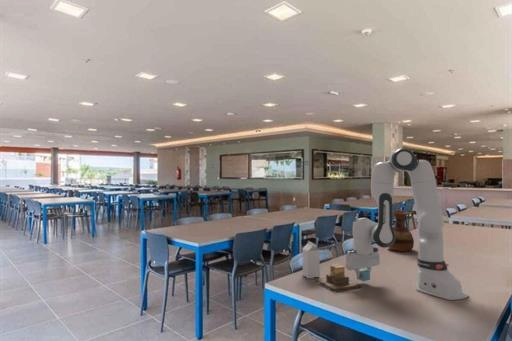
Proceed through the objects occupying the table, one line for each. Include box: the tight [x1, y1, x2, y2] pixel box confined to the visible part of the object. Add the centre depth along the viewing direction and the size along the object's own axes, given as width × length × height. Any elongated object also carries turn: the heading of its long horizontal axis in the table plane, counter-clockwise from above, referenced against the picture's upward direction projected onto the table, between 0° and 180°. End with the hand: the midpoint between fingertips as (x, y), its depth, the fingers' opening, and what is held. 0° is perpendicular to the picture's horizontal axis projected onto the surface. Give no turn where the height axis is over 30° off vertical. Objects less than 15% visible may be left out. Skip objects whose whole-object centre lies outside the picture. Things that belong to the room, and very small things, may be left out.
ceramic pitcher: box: [388, 210, 415, 252], centre depth 242 cm, size 20×20×30 cm
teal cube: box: [356, 268, 371, 282], centre depth 164 cm, size 4×4×4 cm
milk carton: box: [302, 240, 321, 279], centre depth 176 cm, size 7×7×19 cm
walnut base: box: [315, 273, 361, 292], centre depth 162 cm, size 16×16×4 cm
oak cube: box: [329, 263, 346, 278], centre depth 162 cm, size 5×5×5 cm
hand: (363, 276), depth 164 cm, fingers closed on teal cube, 4 cm apart
